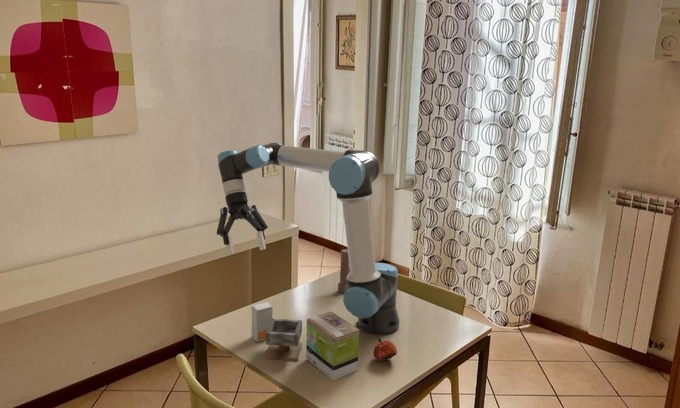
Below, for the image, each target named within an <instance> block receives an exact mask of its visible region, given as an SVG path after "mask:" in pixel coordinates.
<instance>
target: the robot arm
mask: <svg viewBox="0 0 680 408" xmlns="http://www.w3.org/2000/svg"><path fill="white" fill-rule="evenodd" d="M217 162H218V163H217V164H218V165H217V167H218V169H219V172H220V173H219V174H220V177H221V182H222V188H223V192H224V195H225V196H224V197H225V203H226V206H223V207H222V208H220V210H219V211H220V215H219V216H220V217H219V221H218V224H217V225H218V226H217V229H216V235H217V236H220V237H221V238H222V241H223V244H224V246H226V250H227V252H226V253H227V255H229V256H230V255H232V254H234V253H235V249H234V245H233V241H232V236H231V234H229V232H230V231H231V229H232V227H233V225H234V222H235V221H236V220H245V221H247V223H249V224H250V225H251V226H252V227H253V229H254V230H255V231H257V232H256V238H257V242H258V248H259V250H260V251H263V250H266V249H267V248H266V244H265V243H266V242H265V240H266V236H265V235H266V234H265V231H266V230H267V229H268V228H269V226H268V225H267V223H266V222H265V220H264V219H263V217H262V216H261V214H260V213H259V211H258V209H257V206H256V205H255V204H253V205H250V206H249V205H248V204H249V203H248V196H247V192H246V186H245V181H244V178H243V175H244V174H246V173H249V172H251V171H254V170H257V169H261V168H264V167H267V166H270V165H273V166H281V167H288V168H289V167H290V168H297V169H305V170H313V171H318V172H319V171H320V172H326V173H327V172H328V181H329V184H330V187H331V188H332V189H334V192H335V193H336V199H337V200H339V201H340V202H341V203H342V212H343V220H344V228H345V229H344V230H345V237H346V238H345V239H346V245H347V247H346V249H347V250H348V257H349V265H350V273H349V274H348V275H347V277H346V279H347V288H348V289H347V290H346V292H345V293H344V294H343V297H342V298H343V300H342V301H343V305H344V307H345V309H346V310H347V311H348V312H349V313H350V314H351V315H352V316H354V317H356V318H357V325H358V327H359V328H360V329H361V330H362V331H364V332H367V333H370V334H374V335H375V334H376V335H386V334H387V335H389V334H392V333H394V332H396V331H397V330H398V329H400V323H401V322H400V317H399V313H398V310H397V305H396V304H397V291H398V290H397V289H398V280H399V279H398V278H399V275H398V273H399V270H398V268H397V267H396V266H394V265H392V264H390V263H384V262H376V259H375V251H374V248H375V247H374V240H373V231H372V219H371V214H370V213H371V212H370V202H369V200H370V198H371V197H372V195H373V186H372V183H374V182H375V181H376V180H377V179H378V177H379V175H380V172H381V165H380V164H381V163H380V161H379V159H378V157H377V156H376V155H375V154H374V153H372V152H371V151H368V150H360V149H359V150H358V149H356V150H355V149H346V150H345V151H337V150H328V149H320V148H318V149H317V148H311V147H303V146H302V147H301V146H294V145H293V146H292V145H284V144H282V143H279V142H270V143H267V144H264V145H263V144H257V145H253V146H250V147H249V148H247V149H245V150H242V151H239V152H238V151H236V150H234V149H229V150H225V151H221V152H219V153H218V155H217ZM228 214H230V215H229V217H228ZM227 218H228V220H227Z"/></svg>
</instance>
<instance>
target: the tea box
mask: <svg viewBox="0 0 680 408" xmlns="http://www.w3.org/2000/svg"><path fill="white" fill-rule="evenodd" d="M359 341H360V329H359V328H358V327H356V326H354V325H353V324H351V323H350V322H348V321H347V320H345V319H343V318H342V317H340V316H339V315H337V314H336V313H334V312H333V311H330V310H329V311H327V312H325V313H322V314H319V315H315V316H311V317H309V318H307V319H306V342H305V343H306V345H305V346H306V351H305V352H306V355H305V356H306V357H305V358H306V359H307V361H309V362H310V363H311V364H313V365H314V366H315V367H316V368H317V369H318V370H320V371H321V372H322V373H323V374H325V375H326V376H327V377H328V378H329V379H330V380H332V381H335V380H338V379H341V378H343V377H346V376H348V375H351V374H353V373H355V372H357V371H358V366H359V365H358V364H359V348H360V347H359V345H360V344H359V343H360V342H359Z"/></svg>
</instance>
